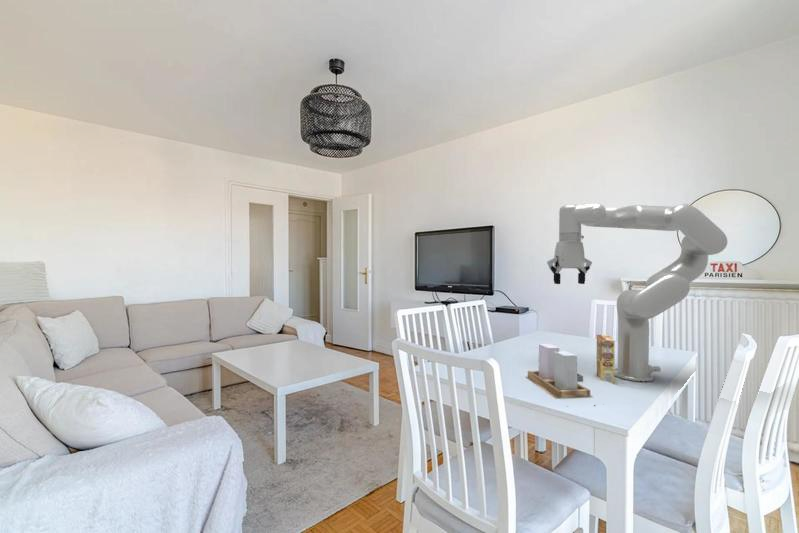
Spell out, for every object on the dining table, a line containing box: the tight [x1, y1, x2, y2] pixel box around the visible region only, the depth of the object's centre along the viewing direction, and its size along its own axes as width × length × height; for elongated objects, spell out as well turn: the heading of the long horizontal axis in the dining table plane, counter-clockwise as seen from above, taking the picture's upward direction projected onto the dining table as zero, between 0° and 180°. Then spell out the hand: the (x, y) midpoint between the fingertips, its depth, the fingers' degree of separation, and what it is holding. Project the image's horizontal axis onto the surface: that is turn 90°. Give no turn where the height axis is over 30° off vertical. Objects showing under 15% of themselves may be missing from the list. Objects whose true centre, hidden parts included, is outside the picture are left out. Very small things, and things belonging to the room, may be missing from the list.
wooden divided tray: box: [525, 370, 594, 400], centre depth 119 cm, size 12×20×3 cm, turn 6°
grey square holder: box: [577, 372, 584, 383], centre depth 126 cm, size 5×5×3 cm
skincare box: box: [554, 350, 578, 390], centre depth 114 cm, size 6×4×12 cm
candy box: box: [596, 334, 615, 385], centre depth 128 cm, size 9×4×15 cm, turn 162°
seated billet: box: [538, 343, 560, 379], centre depth 124 cm, size 4×6×12 cm, turn 6°
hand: (569, 283), depth 138 cm, fingers open, 9 cm apart
